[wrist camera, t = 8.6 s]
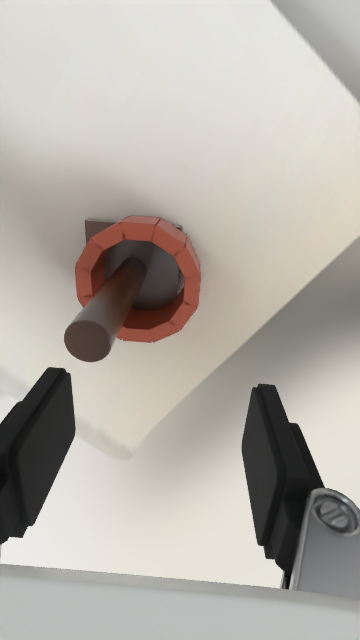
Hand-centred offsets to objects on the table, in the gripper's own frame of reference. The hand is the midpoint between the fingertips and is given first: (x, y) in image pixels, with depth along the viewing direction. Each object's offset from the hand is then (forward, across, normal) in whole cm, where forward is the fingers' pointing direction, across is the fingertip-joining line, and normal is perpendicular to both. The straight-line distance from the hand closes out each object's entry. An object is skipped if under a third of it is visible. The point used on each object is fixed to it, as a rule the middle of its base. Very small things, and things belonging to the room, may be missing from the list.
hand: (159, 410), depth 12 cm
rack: (+19, +4, 0) cm, 19 cm away
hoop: (+18, +3, 0) cm, 18 cm away
